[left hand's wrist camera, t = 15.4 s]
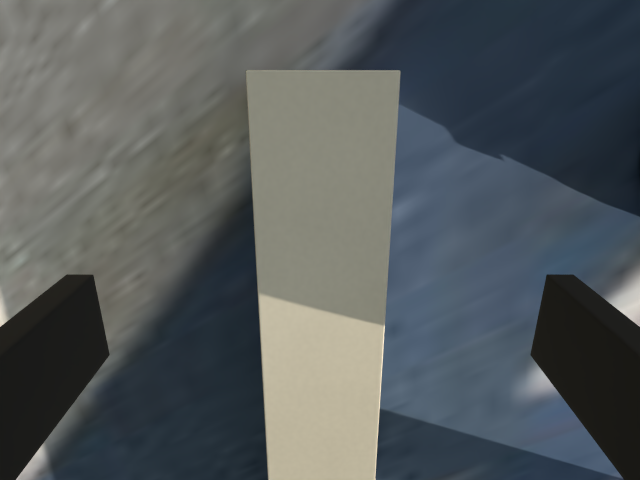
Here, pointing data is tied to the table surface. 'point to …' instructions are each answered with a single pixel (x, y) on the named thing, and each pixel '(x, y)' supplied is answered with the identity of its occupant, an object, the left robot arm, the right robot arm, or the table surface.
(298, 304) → the thick board
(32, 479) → the table surface
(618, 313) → the left robot arm
